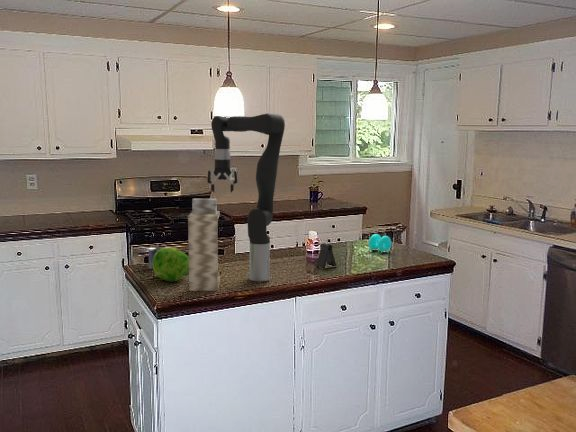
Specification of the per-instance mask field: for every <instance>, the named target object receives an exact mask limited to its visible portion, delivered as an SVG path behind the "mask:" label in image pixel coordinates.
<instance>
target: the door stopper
mask: <svg viewBox="0 0 576 432" xmlns="http://www.w3.org/2000/svg"><path fill="white" fill-rule="evenodd" d="M327 264H329V265H332V266H337V263H336V259H335V256H334V252H333V245H332V244H329V243H326V242H322V243H321V244H320V251H319V254H318V257H317V260H316V264H315V267H316V266H318V267H321V268H325V266H326V265H327ZM318 267H317V268H318Z"/></svg>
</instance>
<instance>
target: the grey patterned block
mask: <svg viewBox="0 0 576 432" xmlns="http://www.w3.org/2000/svg"><path fill="white" fill-rule="evenodd" d="M217 200H218V199H217V198H200V197H199V198H195V197H194V198H192V201H191V203H192V204H191V205H192V207H191V208H192V209H191V210H192V211H191V212H192V214H216V213H217V211H218V209H217V205H218V203H217V202H218V201H217Z"/></svg>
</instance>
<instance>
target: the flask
mask: <svg viewBox="0 0 576 432" xmlns="http://www.w3.org/2000/svg"><path fill="white" fill-rule="evenodd" d="M163 248H167V247H165V246H159V244H156V245H155V248H152V249H148V269H149V270H153V264H152V262H153V257H154V255H155V253H156V252H157V251H158V250H160V249H163Z"/></svg>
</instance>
